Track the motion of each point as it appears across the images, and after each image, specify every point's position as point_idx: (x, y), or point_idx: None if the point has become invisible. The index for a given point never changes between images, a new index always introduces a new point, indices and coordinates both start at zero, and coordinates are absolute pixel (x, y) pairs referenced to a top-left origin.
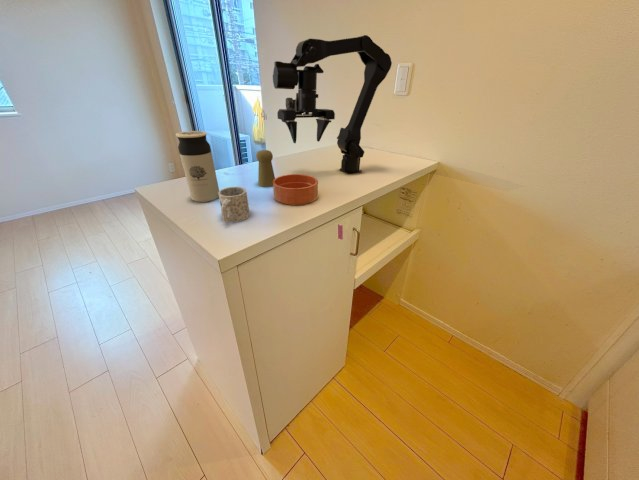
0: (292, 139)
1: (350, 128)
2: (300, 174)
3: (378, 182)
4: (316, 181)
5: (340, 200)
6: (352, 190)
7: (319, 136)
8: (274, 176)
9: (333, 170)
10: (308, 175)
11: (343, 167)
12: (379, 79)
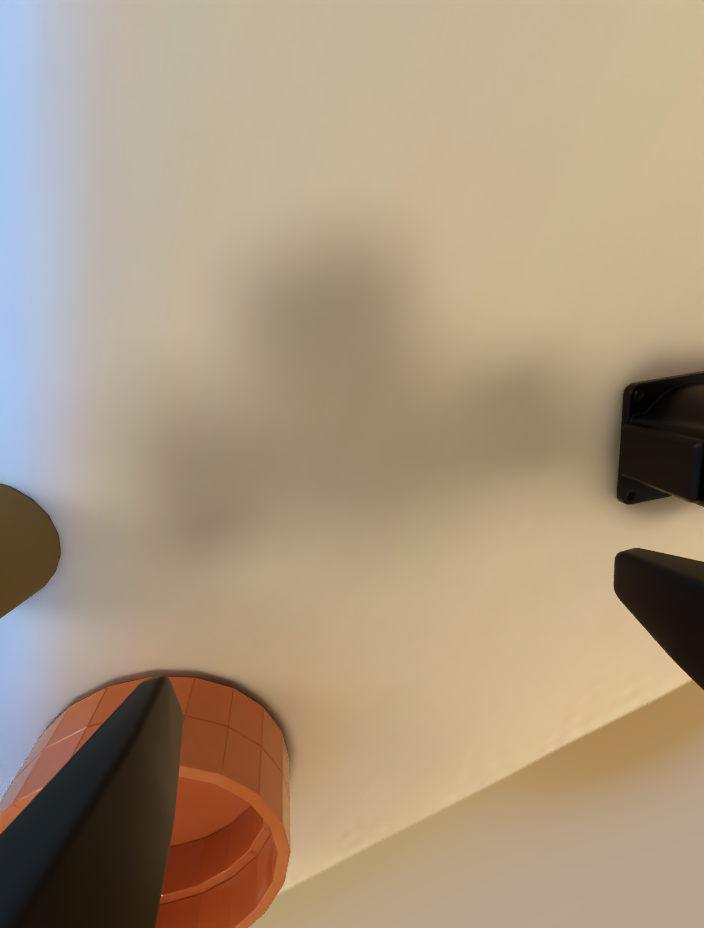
0: (101, 730)
1: None
2: (203, 775)
3: (667, 655)
4: (272, 890)
5: (371, 819)
6: (484, 729)
7: (694, 679)
8: (15, 589)
9: (584, 370)
10: (256, 799)
11: (642, 464)
12: None
